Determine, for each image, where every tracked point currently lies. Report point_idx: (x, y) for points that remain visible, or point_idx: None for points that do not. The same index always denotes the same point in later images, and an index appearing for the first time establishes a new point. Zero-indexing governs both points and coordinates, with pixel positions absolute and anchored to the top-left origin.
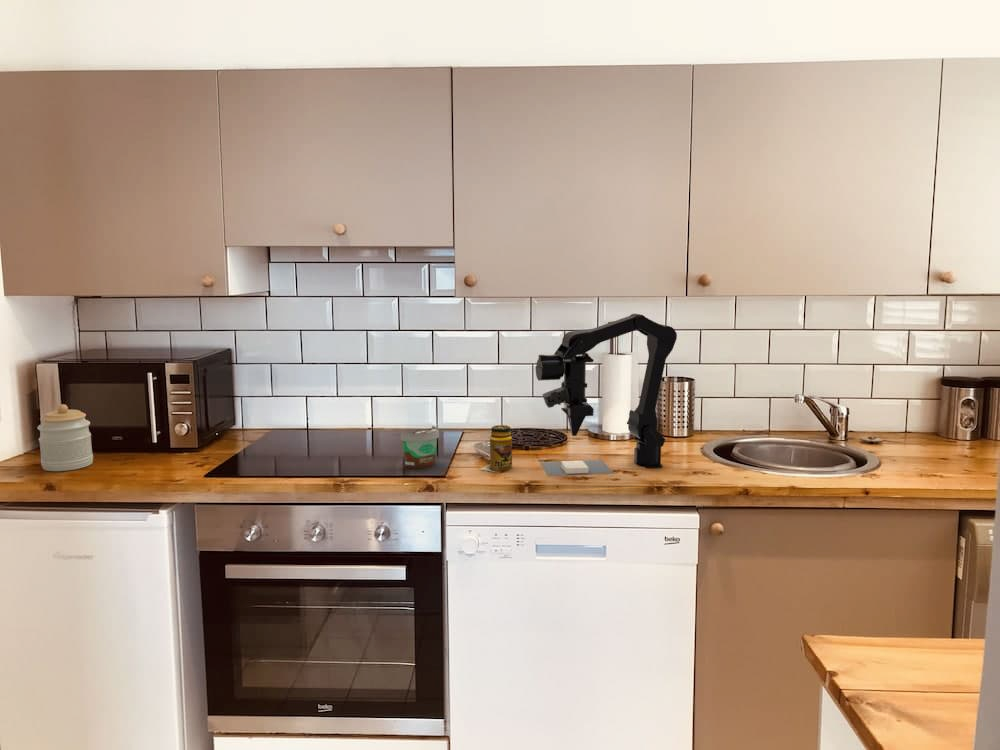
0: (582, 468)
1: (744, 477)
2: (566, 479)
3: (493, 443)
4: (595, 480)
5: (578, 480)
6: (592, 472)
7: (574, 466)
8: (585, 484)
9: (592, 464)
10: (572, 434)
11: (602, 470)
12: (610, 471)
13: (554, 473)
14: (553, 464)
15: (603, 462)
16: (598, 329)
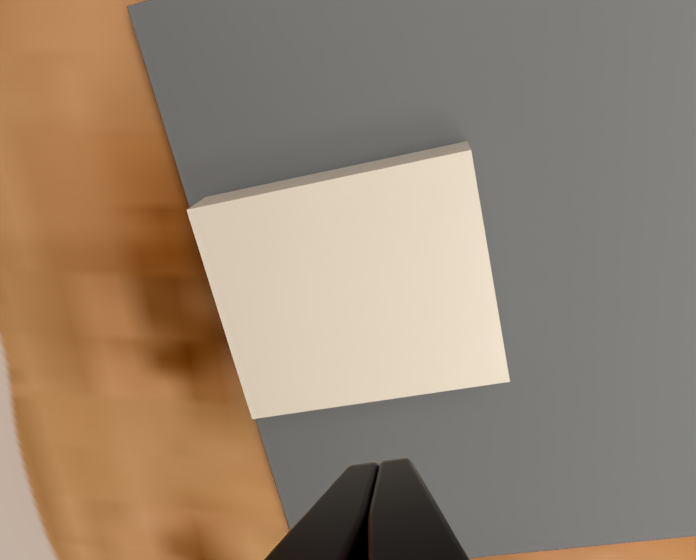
0: (237, 363)
1: None
2: (121, 192)
3: None
4: (144, 423)
5: (115, 295)
6: (309, 423)
7: (270, 293)
8: (20, 344)
9: (576, 442)
10: (339, 479)
11: None
12: None
13: (224, 72)
14: (590, 46)
15: (644, 535)
16: None
